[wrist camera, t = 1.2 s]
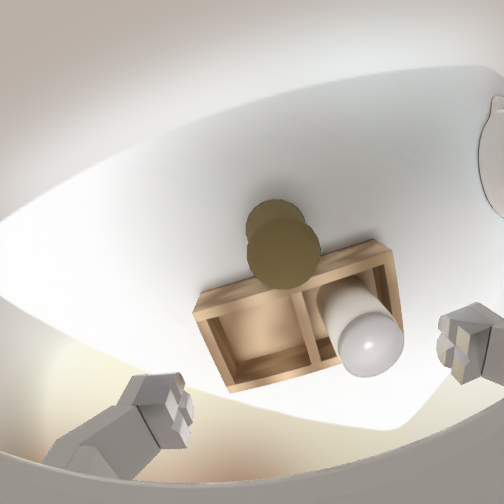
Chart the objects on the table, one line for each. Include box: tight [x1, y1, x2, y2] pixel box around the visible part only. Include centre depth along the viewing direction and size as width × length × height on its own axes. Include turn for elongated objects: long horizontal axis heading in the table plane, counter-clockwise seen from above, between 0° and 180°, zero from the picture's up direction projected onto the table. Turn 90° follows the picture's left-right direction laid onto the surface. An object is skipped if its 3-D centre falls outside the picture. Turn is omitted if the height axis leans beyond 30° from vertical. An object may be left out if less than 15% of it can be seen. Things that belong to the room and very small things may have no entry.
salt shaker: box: [316, 275, 404, 377], centre depth 27 cm, size 6×6×10 cm
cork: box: [246, 200, 321, 290], centre depth 25 cm, size 6×6×11 cm
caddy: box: [192, 239, 404, 393], centre depth 30 cm, size 19×10×5 cm, turn 108°
